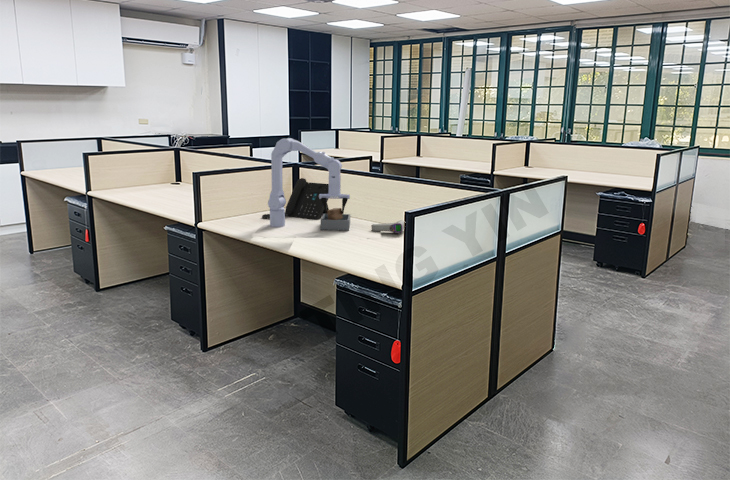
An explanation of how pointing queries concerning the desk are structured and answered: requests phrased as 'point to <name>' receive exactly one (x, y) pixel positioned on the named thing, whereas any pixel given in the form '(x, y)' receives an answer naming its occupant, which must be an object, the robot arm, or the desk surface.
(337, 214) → the walnut cube
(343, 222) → the charcoal tote
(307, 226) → the desk surface
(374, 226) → the infrared thermometer
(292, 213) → the office phone
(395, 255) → the desk surface
